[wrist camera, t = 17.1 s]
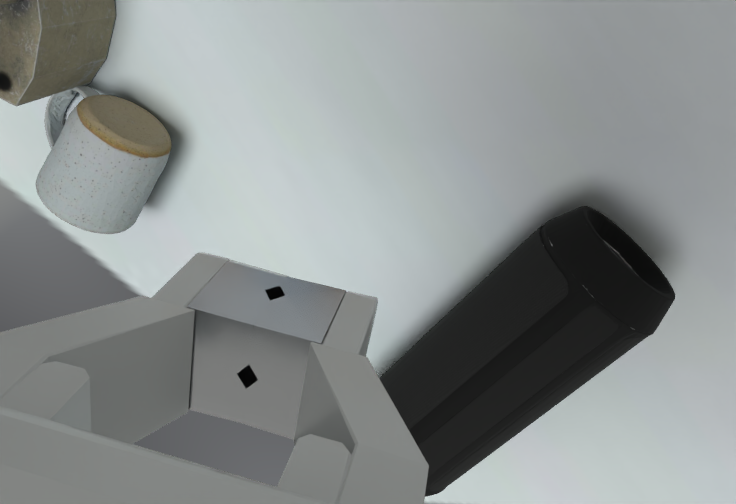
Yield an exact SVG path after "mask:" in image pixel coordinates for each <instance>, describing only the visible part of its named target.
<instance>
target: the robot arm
mask: <svg viewBox="0 0 736 504" xmlns="http://www.w3.org/2000/svg"><path fill="white" fill-rule="evenodd" d="M377 304H378V299H377V297H372V296H367V295H363V294H358V293H354V292H349V291H348V292H346V290H341V289H337V288H333V287H329V286H325V285H320V284H316V283H312V282H308V281H304V280H299V279H295V278H291V277H289V276H286V275H283V274H279V273H276V272H272V271H269V270H265V269H262V268H258V267H255V266H251V265H248V264H244V263H241V262H237V261H234V260H230V259H228V258H224V257H220V256H216V255H212V254H207V253H197V254H196V255H195V256H194V257H193V258H192V259H191V260H190V261H189V262H188V263H187V264H186V265H185V266H184V267H183V268H181V269H180V270H179V271H178V272H177V273H176V274H175V275H174V276H173V277H172V278H171V279H170V280H169V281H168V282H167V283H166V284H165V285H164V286H163V287H162V288H161V289H160V290H159V291H158V292H157V293H156V294H155V295H154V296H153V297H152V298H149V297H145V296H139V297H135V298H132V299H128V300H124V301H120V302H116V303H113V304H108V305H104V306H101V307H97V308H93V309H89V310H85V311H81V312H78V313H74V314H70V315H66V316H62V317H58V318H54V319H50V320H46V321H43V322H39V323H35V324H31V325H27V326H23V327H19V328H16V329H12V330H8V331H4V332H0V504H424V498H425V491H426V484H427V476H428V469H429V465H428V463H427V462H426V460H425V458H424V456H423V455H422V453H421V451H420V449H419V447H418V446H417V444H416V442H415V440H414V439H413V437H412V435H411V433H410V432H409V430H408V428H407V426H406V425H405V423H404V421H403V419H402V418H401V416H400V414H399V412H398V411H397V409H396V407H395V405H394V404H393V402H392V400H391V398H390V396H389V395H388V393H387V391H386V389H385V388H384V386H383V384H382V382H381V381H380V379H379V377H378V375H377V374H376V372H375V370H374V368H373V367H372V365H371V363H370V361H369V360H368V358H367V357H366V353H367V349H368V344H369V340H370V336H371V331H372V327H373V323H374V318H375V314H376V310H377ZM188 409H189V410H193V411H196V412H200V413H204V414H208V415H212V416H216V417H220V418H224V419H228V420H231V421H235V422H239V423H243V424H246V425H249V426H252V427H255V428H259V429H261V430H265V431H268V432H271V433H274V434H277V435H280V436H284V437H287V438H290V439H293V440H294V445H295V447H294V449H293V452H292V454H291V456H290V459H289V461H288V463H287V465H286V467H285V470H284V472H283V474H282V477H281V479H280V481H279V483H278V485H277V487H275V486H271V485H268V484H265V483H261V482H258V481H255V480H251V479H248V478H245V477H241V476H238V475H235V474H231V473H228V472H225V471H221V470H218V469H214V468H211V467H208V466H204V465H201V464H197V463H194V462H191V461H187V460H184V459H180V458H177V457H174V456H170V455H167V454H163V453H160V452H157V451H153V450H150V449H146V448H143V447H139V446H136V445H133V443H135V442H137V441H138V440H140V439H142V438H144V437H146V436H147V435H149V434H151V433H153V432H154V431H156V430H158V429H160V428H161V427H163V426H165V425H167V424H169V423H170V422H172V421H174V420H176V419H177V418H179V417H181V416H183V415H184V414H186V413H188Z"/></svg>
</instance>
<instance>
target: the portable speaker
mask: <svg viewBox="0 0 736 504" xmlns="http://www.w3.org/2000/svg"><path fill="white" fill-rule="evenodd" d="M674 299H675V293H674V291H673V288H672V287H671V285H670V283H669V282H668V280H667V278H666V277H665V276H664V274H663V273H662V272H661V270H660V269H659V268H658V267H657V265H656V264H655V263H654V262H653V261H652V260H651V258H650V257H649V256H648V255H647V254H646V253H645V252H644V251H643V250H642V249H641V248H640V247H639V246H638V245H637V244H636V243H635V242H634V241H633V240H632V239H631V238H630V237H629V236H628V235H627V234H626V233H625V232H624V231H622V230H621V229H620V228H619V227H618V226H617V225H616V224H614V223H613V222H612V221H611V220H609V219H608V218H607V217H605V216H604V215H603V214H601V213H599V212H598V211H596V210H594V209H592V208H590V207H587V206H583V207H580V208H578V209H575V210H573V211H571V212H568V213H566V214H564V215H562V216H559V217H557V218H555V219H552V220H550V221H548V222H546V223H545V225H542V226H541V227H540V228H539V229H538V230H537V231H536V232H535V233H533V234H532V235H531V236H530V237H529V238H528V239H527V240H526V241H525V242H524V243H523V244H521V245H520V246H519V247H518V248H517V249H516V250H515V251H514V252H513V253H512V254H511V255H510V256H509V257H508V258H507V259H506V260H504V261H503V262H502V263H501V264H500V265H499V266H498V267H497V268H496V269H495V270H494V271H493V272H492V273H491V274H490V275H489V276H488V277H486V278H485V279H484V280H483V281H482V282H481V283H480V284H479V285H478V286H477V287H476V288H475V289H474V290H473V291H472V292H471V293H469V294H468V295H467V296H466V297H465V298H464V299H463V300H462V301H461V302H460V303H459V304H458V305H457V306H456V307H455V308H454V309H452V310H451V311H450V312H449V313H448V314H447V315H446V316H445V317H444V318H443V319H442V320H441V321H440V322H439V323H438V324H437V325H435V326H434V327H433V328H432V329H431V330H430V331H429V332H428V333H427V334H426V335H425V336H424V337H423V338H422V339H421V340H420V341H419V342H417V343H416V344H415V345H414V346H413V347H412V348H411V349H410V350H409V351H408V352H407V353H406V354H405V355H404V356H403V357H402V358H400V359H399V360H398V361H397V362H396V363H395V364H394V365H393V366H392V367H391V368H390V369H389V370H388V371H387V372H386V373H385V374H383V375H382V376H381V377H380V378H379V379H380V381H381V382H382V384H383V386H384V388H385V389H386V391H387V393H388V395H389V396H390V398H391V400H392V402H393V404H394V405H395V407H396V409H397V411H398V412H399V414H400V416H401V418H402V419H403V421H404V423H405V425H406V426H407V428H408V430H409V432H410V433H411V435H412V437H413V439H414V440H415V442H416V444H417V446H418V447H419V449H420V451H421V453H422V455H423V456H424V458H425V460H426V462H427V463H428V465H429V469H428V476H427V484H426V491H425V496H430V495H434V494H437V493H439V492H441V491H443V490H444V489H445V488H446V487H447V486H448V485H449V484H451V483H452V482H453V481H455V480H456V479H458V478H459V477H460V476H462V475H463V474H464V473H466V472H467V471H468V470H470V469H471V468H472V467H474V466H475V465H476V464H478V463H479V462H480V461H482V460H483V459H484V458H486V457H487V456H488V455H490V454H491V453H492V452H494V451H495V450H496V449H498V448H499V447H500V446H502V445H503V444H504V443H506V442H507V441H508V440H510V439H511V438H512V437H514V436H515V435H516V434H518V433H519V432H520V431H522V430H523V429H525V428H526V427H527V426H529V425H530V424H531V423H533V422H534V421H535V420H537V419H538V418H539V417H541V416H542V415H543V414H545V413H546V412H547V411H549V410H550V409H551V408H553V407H554V406H555V405H557V404H558V403H559V402H561V401H562V400H563V399H565V398H566V397H567V396H569V395H570V394H571V393H573V392H574V391H575V390H577V389H578V388H579V387H581V386H582V385H583V384H585V383H586V382H587V381H589V380H590V379H591V378H593V377H594V376H595V375H597V374H598V373H599V372H601V371H602V370H603V369H605V368H606V367H607V366H609V365H610V364H611V363H613V362H614V361H615V360H617V359H618V358H619V357H621V356H622V355H623V354H625V353H626V352H627V351H629V350H630V349H631V348H633V347H634V346H635V345H637V344H638V343H639V342H641V341H642V340H643V339H645V338H646V337H648V336H649V335H651V334H653V333H654V331H655V330H656V329H657V327H658V326H659V324H660V322H661V321H662V319H663V317H664V316H665V314H666V312H667V311H668V309H669V308H670V306H671V304H672V303H673V301H674Z"/></svg>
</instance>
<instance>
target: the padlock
mask: <svg viewBox="0 0 736 504" xmlns="http://www.w3.org/2000/svg"><path fill="white" fill-rule="evenodd" d="M115 18H116V12H115V0H0V98H1V99H3V100H5V101H7V102H8V103H10V104H12V105H14V106H19V105H22V104H25V103H28V102H31V101H35V100H38V99H41V98H44V97H47V96H51V95H54V94H57V93H60V92H63V91H66V90H70V89H73V88H75V87H77V86H82V85H86V84H89V83H90V82H91V81H92V79H93V78H94V76H95V75H96V73H97V72H98V70H99V69H100V67H101V66H102V64H103V63H104V61H105V60H106V57H107V53H108V48H109V44H110V40H111V35H112V31H113V26H114V22H115Z"/></svg>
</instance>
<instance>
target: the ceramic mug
mask: <svg viewBox="0 0 736 504" xmlns="http://www.w3.org/2000/svg"><path fill="white" fill-rule="evenodd" d="M77 92H78V93H80V94H81V95H82V96H83V98H84V99H83V100H82V101H81V102H80V103H79V104H78V105H77V106H76V107H75V108H74V110H73V111H72V112H71V113H70V115H69V117H68V119H67V120H66V122H65V125H64V124H63V118H64V113H65V111H66V109H67V107H68V105H69V104H70V102H71V100H72V99H73V98H74V97H75V95H76V93H77ZM45 130H46V135H47V138H48V141H49V144H50V147H51V149H52V150H51V152H50V153H49V155H48V157H47V159H46V161H45V163H44V165H43V167H42V168H41V170H40V172H39V174H38V176H37V180H36V189H37V193H38V195H39V197H40V199H41V200H42V202H43V204H44V205H45V206H46V207H47V208H48V209H49V210H50V211H51V212H52V213H54V214H55V215H56V216H57V217H59V218H60V219H62V220H64V221H65V222H67V223H69V224H71V225H73V226H76V227H78V228H80V229H83V230H86V231H90V232H94V233H102V234H114V233H120V232H123V231H125V230H127V229H128V228H130V227H131V226H132V225H133V224H134V223H135V222H136V220H137V218H138V216H139V214H140V212H141V210H142V208H143V206H144V205H145V203H146V201H147V199H148V197H149V196H150V194H151V192H152V190H153V188H154V186H155V183H156V182H157V180H158V178H159V176H160V175H161V173H162V171H163V170H164V168H165V166H166V163H167V161H168V158H169V154H170V150H171V139H170V136H169V134H168V132H167V130H166V129H165V127H164V126H163V124H162V123H161V122H160V121H159V120H158V119H157V118H156V117H154V116H153V115H152V114H151V113H149V112H148V111H146V110H145V109H143V108H141V107H140V106H138V105H136V104H134V103H132V102H130V101H127V100H125V99H122V98H119V97H115V96H110V95H99V93H98V92H96V91H95V90H93V89H92V88H90V87H88V86H85V85H82V86H77V87H75V88H73V89H70V90H66V91H63V92H60V93H57V94H54V95H52V96H51V97H50V99H49V101H48V104H47V107H46V112H45Z"/></svg>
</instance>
